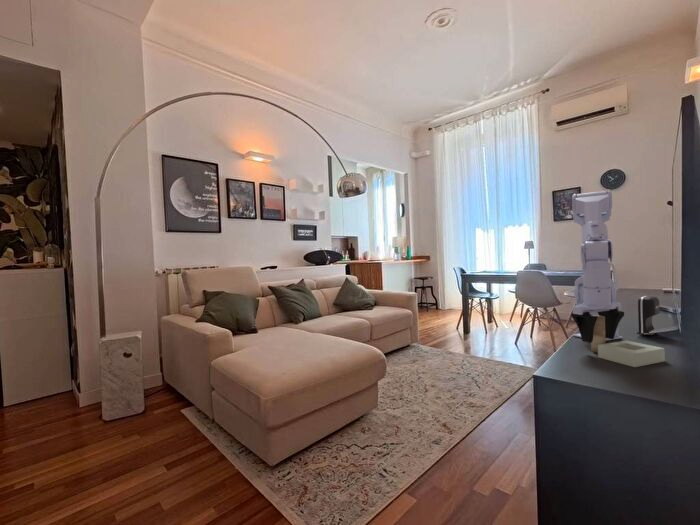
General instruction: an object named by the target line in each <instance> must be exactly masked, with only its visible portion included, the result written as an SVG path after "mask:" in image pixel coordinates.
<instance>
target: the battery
mask: <svg viewBox="0 0 700 525" xmlns="http://www.w3.org/2000/svg"><path fill="white" fill-rule="evenodd" d="M660 313H661V308H660V299H659V298H658V297H657V296H649V295H642V296H640V297H638V299H637V318H638V322H637V323H638V335H639V334H641V333H649V332H651V331H654V330H656V329H655V327H654V325H653V317H654V316H657V315H659V314H660Z"/></svg>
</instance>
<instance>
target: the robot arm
mask: <svg viewBox="0 0 700 525" xmlns="http://www.w3.org/2000/svg"><path fill="white" fill-rule="evenodd" d="M571 202H572V203H571V207H572V208H571V209H572V219H573V220H574V221H573V222H574V224H578V225H580V227H581V243H580V261H581V266H582V268H581V269H582V270H583V271H582V275H581V276H579V277H578V278H576V279H575V281H574V287H573V288H574V289H573V290H574V304H575V305H572V312H571V313H570V314H571V315H570V316H571V317H572V320H573V321H574V322H575V324H576V326H577V329H578V330H579V333H574V335H573V337H577V338H581V340H582V342H585V343H591V342H592V341H593V332H594V326H595V322H596V320H597V318H598V317H597V316H592V315H598V316H604V317H605V342H607V341H612V340H619V339H623V336H621V335H620V334H619V333H620V332H619V330H620V329H619V328H620V327H619V326H620V325H619V323H621V320H622V319H623V317H624V316H625V312H624V311H622V302H619V301H617V291H616V287H615V282H614V280H613V279H612V277H611V263H612V261H613V258H614V249H613V243H612V240H611V238H610V237H609V232H608V231H609V230H608V226H607V225H606V222H608V221H610V218H611V217H612V208H613V193H612V191H610V189H607V190H602V191H593V192H592V191H591V192H585V193H573V194H572V195H571Z"/></svg>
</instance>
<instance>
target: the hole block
mask: <svg viewBox="0 0 700 525" xmlns="http://www.w3.org/2000/svg"><path fill="white" fill-rule="evenodd" d="M665 350H666V349H665V348H664V347H660V346H655V345H650V344H645V343H641V342H636V341H630V340H622V341H621V340H620V341H614V342H608V343H606V344H601V345H598V352H597V358H599V359H603V360H606V361H611V362H614V363H617V364H621V365H625V366H629V367H633V368H637V367H643V366H648V365H652V364H659V363H664V362H665V360H666V359H665V358H666V356H665Z"/></svg>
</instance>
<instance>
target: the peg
mask: <svg viewBox="0 0 700 525" xmlns="http://www.w3.org/2000/svg"><path fill="white" fill-rule="evenodd" d="M592 316H597V317H598V318H597V320H596V322H595V326H594V332H593V341H592V342H590V350H591V351H590V352H593V353H598V345H601V344H607V343H606V341H605V317H604V316H598V315H592Z"/></svg>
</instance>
